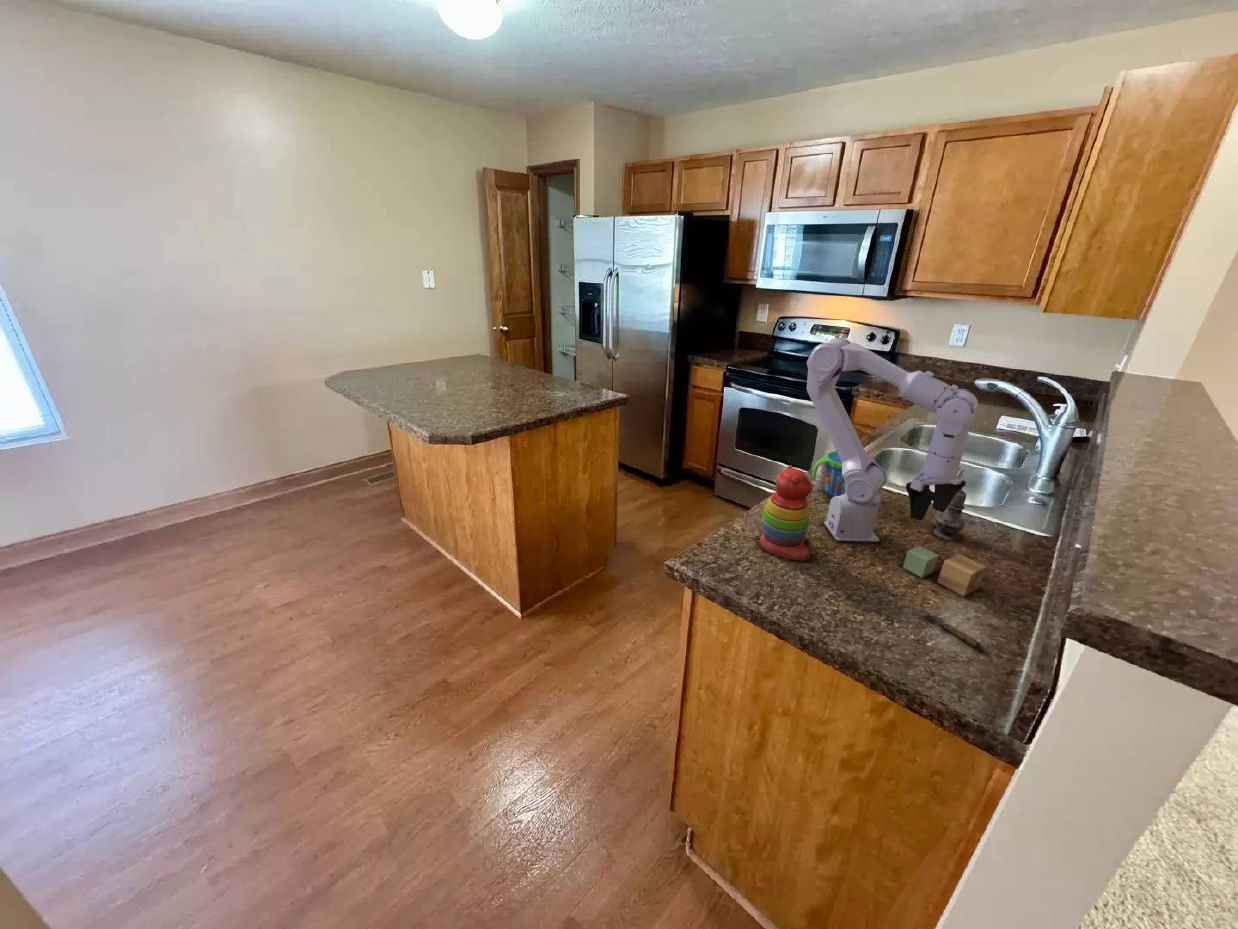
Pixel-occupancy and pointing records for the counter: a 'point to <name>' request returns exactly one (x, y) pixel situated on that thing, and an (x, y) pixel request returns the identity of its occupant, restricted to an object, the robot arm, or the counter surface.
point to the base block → (961, 574)
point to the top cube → (920, 561)
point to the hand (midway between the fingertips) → (927, 514)
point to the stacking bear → (787, 516)
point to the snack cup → (832, 474)
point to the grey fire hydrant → (951, 518)
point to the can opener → (955, 631)
